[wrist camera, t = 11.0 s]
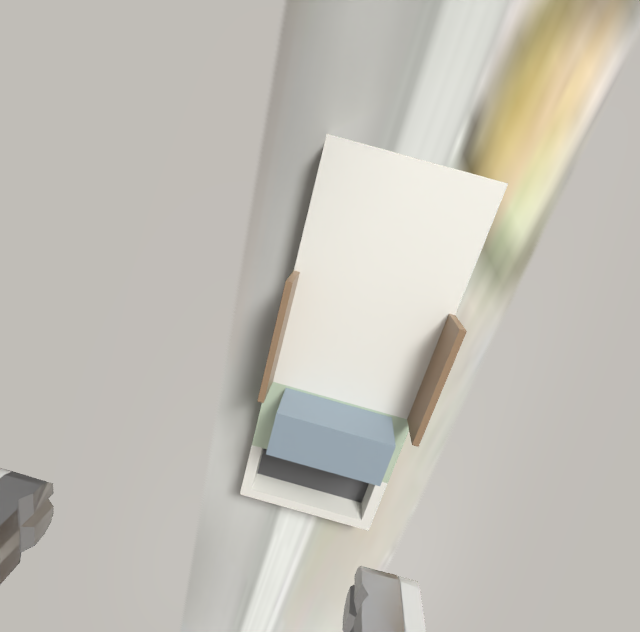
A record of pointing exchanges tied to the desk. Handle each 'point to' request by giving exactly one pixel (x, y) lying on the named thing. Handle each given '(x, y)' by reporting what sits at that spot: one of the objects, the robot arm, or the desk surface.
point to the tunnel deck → (370, 310)
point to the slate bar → (332, 437)
